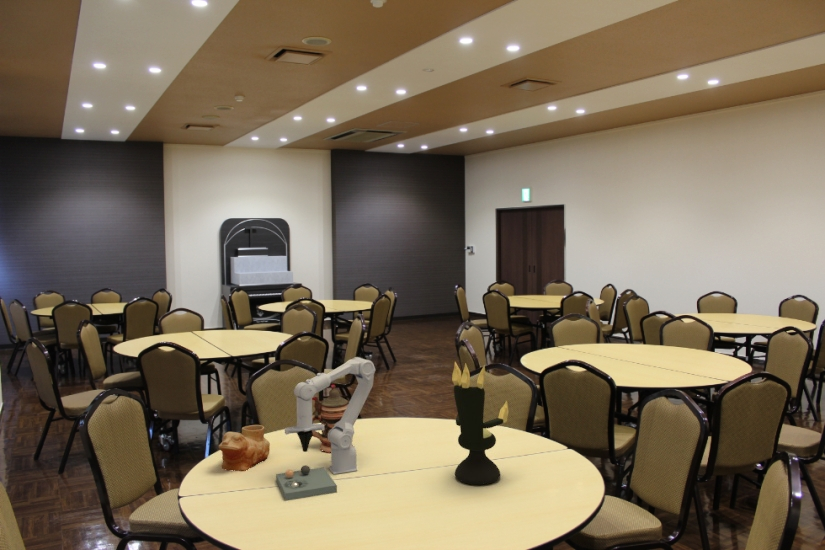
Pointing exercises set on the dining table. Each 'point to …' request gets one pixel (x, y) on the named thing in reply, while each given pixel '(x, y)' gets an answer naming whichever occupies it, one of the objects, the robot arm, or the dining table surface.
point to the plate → (306, 484)
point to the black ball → (305, 470)
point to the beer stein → (328, 415)
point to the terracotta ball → (289, 473)
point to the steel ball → (294, 484)
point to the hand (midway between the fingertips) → (304, 450)
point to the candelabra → (475, 429)
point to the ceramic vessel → (244, 448)
